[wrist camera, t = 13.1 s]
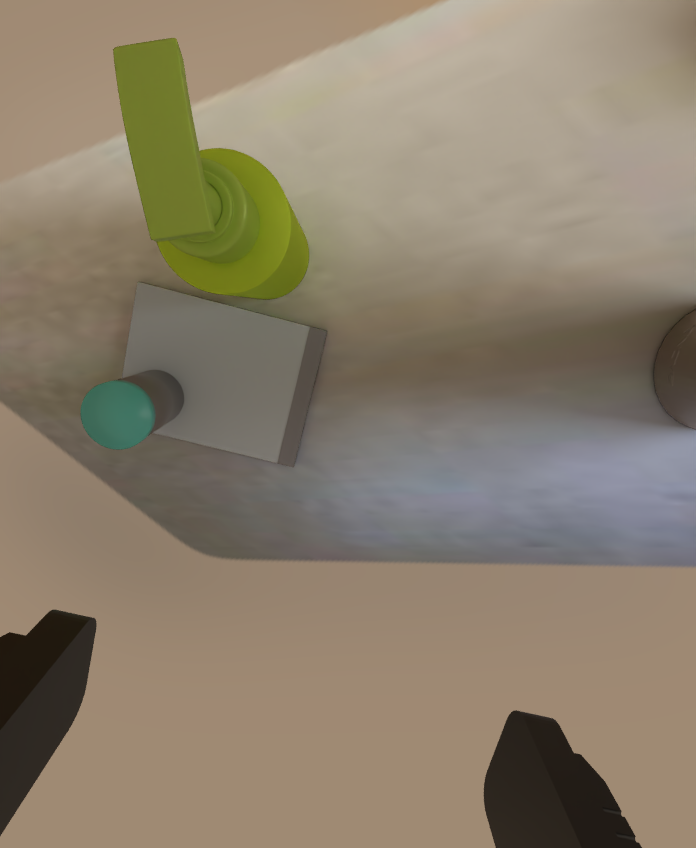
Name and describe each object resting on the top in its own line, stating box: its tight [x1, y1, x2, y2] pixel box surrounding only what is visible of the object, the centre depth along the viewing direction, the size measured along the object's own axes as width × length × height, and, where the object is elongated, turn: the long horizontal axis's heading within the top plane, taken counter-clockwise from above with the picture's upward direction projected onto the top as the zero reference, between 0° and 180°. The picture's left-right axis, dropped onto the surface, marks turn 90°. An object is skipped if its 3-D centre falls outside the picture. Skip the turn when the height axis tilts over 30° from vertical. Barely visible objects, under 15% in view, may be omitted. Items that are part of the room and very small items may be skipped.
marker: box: [81, 370, 184, 449], centre depth 33 cm, size 4×4×7 cm
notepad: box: [122, 282, 327, 467], centre depth 36 cm, size 13×10×1 cm
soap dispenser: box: [113, 38, 309, 299], centre depth 25 cm, size 6×7×20 cm
